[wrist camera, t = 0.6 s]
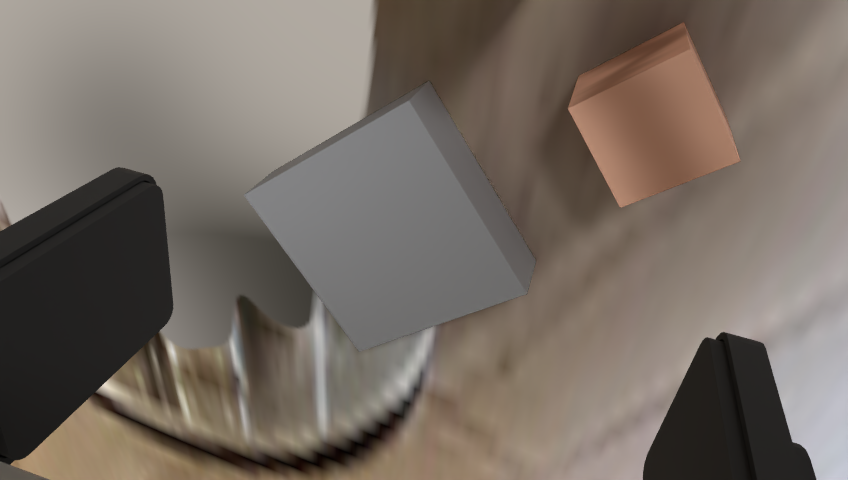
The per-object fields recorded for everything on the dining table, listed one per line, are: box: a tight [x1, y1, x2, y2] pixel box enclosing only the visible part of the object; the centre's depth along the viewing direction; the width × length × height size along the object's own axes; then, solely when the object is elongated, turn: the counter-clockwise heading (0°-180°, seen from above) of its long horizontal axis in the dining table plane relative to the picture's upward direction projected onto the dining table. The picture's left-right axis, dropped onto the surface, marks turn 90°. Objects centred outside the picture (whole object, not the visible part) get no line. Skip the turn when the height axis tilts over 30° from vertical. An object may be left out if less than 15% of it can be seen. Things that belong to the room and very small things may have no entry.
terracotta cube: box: [568, 22, 740, 208], centre depth 33 cm, size 6×6×6 cm
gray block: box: [244, 81, 536, 352], centre depth 43 cm, size 14×14×4 cm
